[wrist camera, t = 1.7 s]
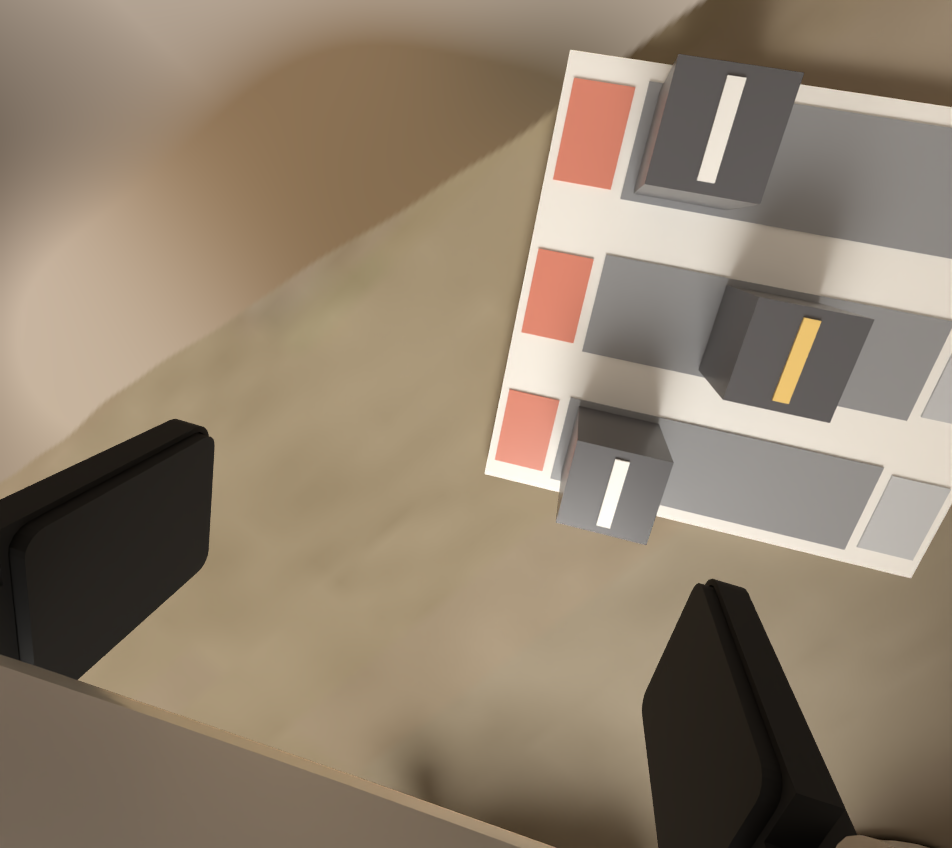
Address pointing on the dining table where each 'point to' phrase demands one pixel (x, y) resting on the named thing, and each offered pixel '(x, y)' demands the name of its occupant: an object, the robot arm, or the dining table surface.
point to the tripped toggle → (782, 352)
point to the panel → (699, 297)
